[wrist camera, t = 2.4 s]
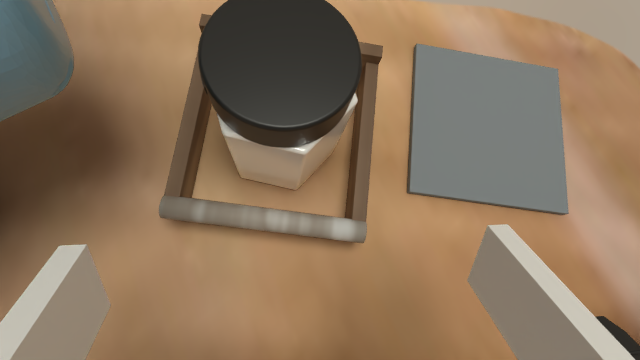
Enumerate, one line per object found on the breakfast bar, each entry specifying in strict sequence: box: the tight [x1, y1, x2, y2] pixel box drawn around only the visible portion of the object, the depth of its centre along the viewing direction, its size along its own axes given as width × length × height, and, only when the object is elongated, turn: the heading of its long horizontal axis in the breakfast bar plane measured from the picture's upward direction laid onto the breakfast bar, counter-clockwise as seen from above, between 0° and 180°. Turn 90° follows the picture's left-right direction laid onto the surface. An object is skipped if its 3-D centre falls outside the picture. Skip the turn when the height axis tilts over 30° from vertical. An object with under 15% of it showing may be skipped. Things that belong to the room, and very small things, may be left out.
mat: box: [407, 44, 568, 215], centre depth 31 cm, size 14×14×1 cm
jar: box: [198, 0, 362, 190], centre depth 23 cm, size 9×8×12 cm
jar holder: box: [159, 14, 383, 243], centre depth 26 cm, size 14×15×4 cm
